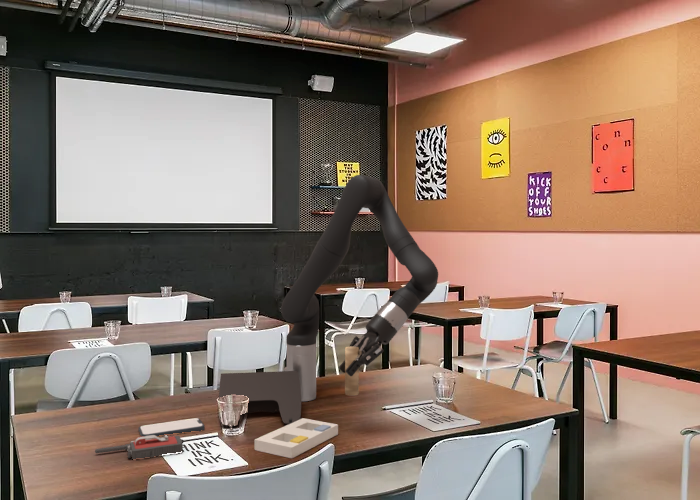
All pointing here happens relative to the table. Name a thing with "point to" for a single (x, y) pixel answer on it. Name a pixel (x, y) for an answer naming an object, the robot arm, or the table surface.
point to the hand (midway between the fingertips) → (344, 372)
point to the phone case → (172, 427)
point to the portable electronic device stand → (266, 392)
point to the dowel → (353, 381)
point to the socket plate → (296, 437)
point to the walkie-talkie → (148, 446)
